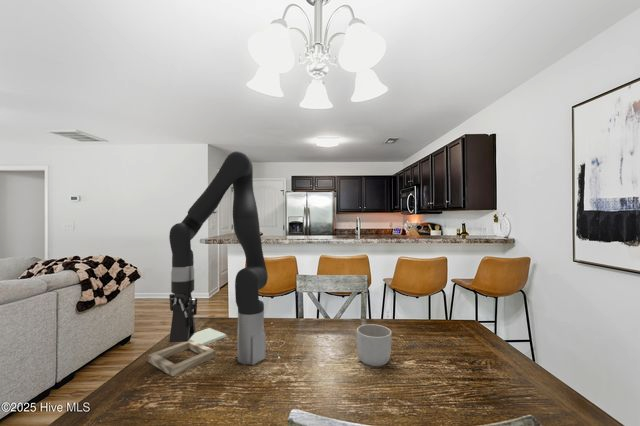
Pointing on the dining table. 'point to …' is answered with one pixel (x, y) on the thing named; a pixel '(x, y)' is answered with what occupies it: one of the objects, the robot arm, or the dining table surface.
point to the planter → (374, 344)
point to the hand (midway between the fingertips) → (182, 325)
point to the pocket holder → (175, 369)
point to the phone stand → (180, 326)
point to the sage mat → (207, 336)
